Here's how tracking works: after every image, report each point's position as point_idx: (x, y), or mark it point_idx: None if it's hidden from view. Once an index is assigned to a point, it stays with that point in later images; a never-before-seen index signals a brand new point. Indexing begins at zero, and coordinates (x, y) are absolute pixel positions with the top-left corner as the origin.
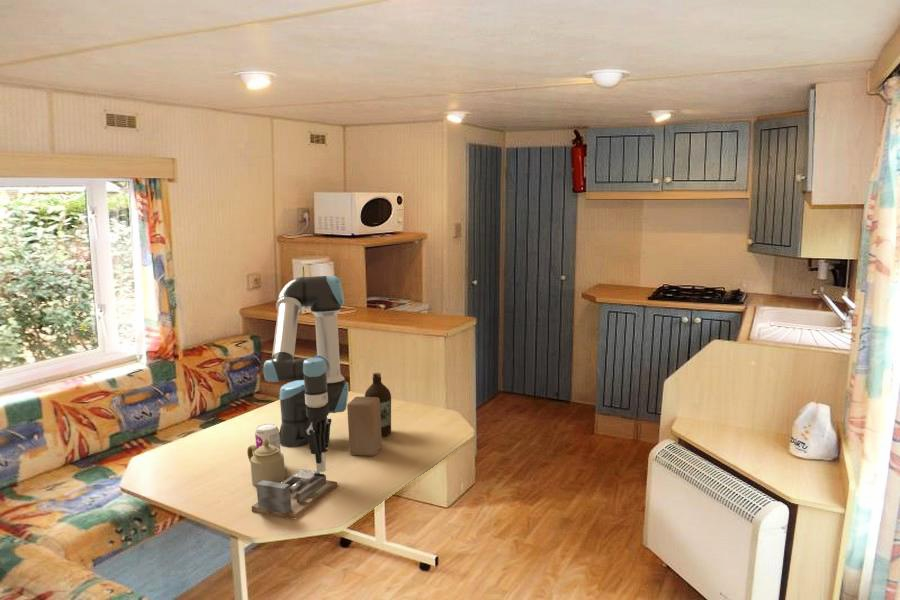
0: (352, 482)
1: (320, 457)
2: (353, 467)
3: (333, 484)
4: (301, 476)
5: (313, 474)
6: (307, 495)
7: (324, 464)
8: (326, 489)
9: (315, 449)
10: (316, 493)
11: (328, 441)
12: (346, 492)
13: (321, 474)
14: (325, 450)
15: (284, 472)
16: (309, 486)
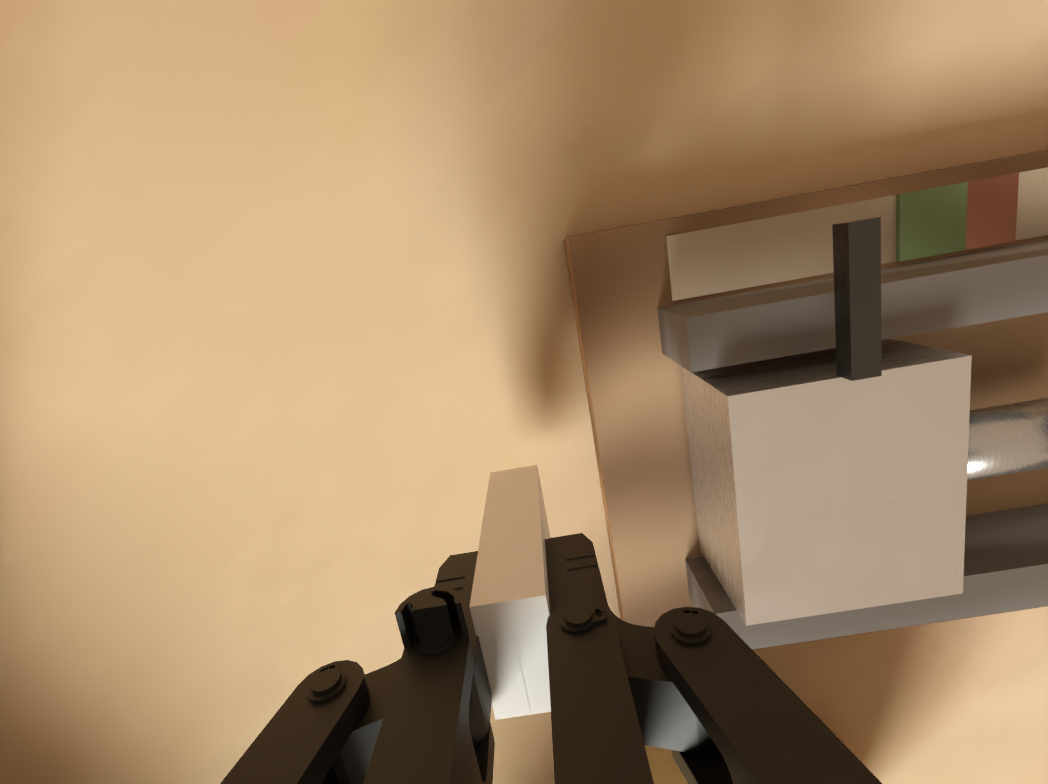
0: (422, 160)
1: (561, 583)
2: (163, 394)
3: (636, 229)
4: (934, 494)
5: (830, 407)
6: (1028, 246)
7: (507, 504)
8: (766, 210)
9: (796, 708)
10: (906, 224)
11: (254, 773)
12: (636, 47)
13: (867, 265)
14: (449, 623)
15: (676, 770)
16: (1036, 268)
